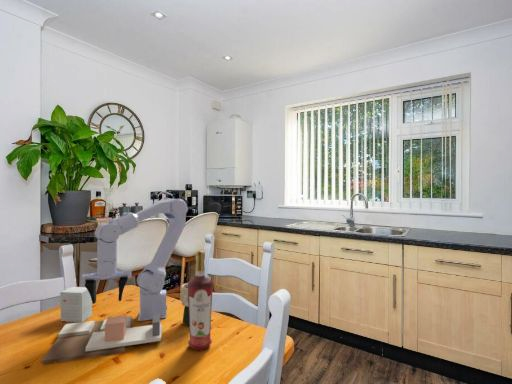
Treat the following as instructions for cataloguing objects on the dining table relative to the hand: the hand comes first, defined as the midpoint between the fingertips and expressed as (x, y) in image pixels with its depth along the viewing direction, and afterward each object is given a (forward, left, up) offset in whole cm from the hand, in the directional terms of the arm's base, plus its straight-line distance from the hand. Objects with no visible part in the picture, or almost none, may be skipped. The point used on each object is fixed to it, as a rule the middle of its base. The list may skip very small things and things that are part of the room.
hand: (107, 301), depth 96 cm
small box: (+12, -12, -10) cm, 20 cm away
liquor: (-28, +19, -10) cm, 35 cm away
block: (-4, +10, -7) cm, 13 cm away
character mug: (-27, +3, -10) cm, 29 cm away
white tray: (-7, +10, -8) cm, 15 cm away
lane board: (+3, +6, -9) cm, 11 cm away
